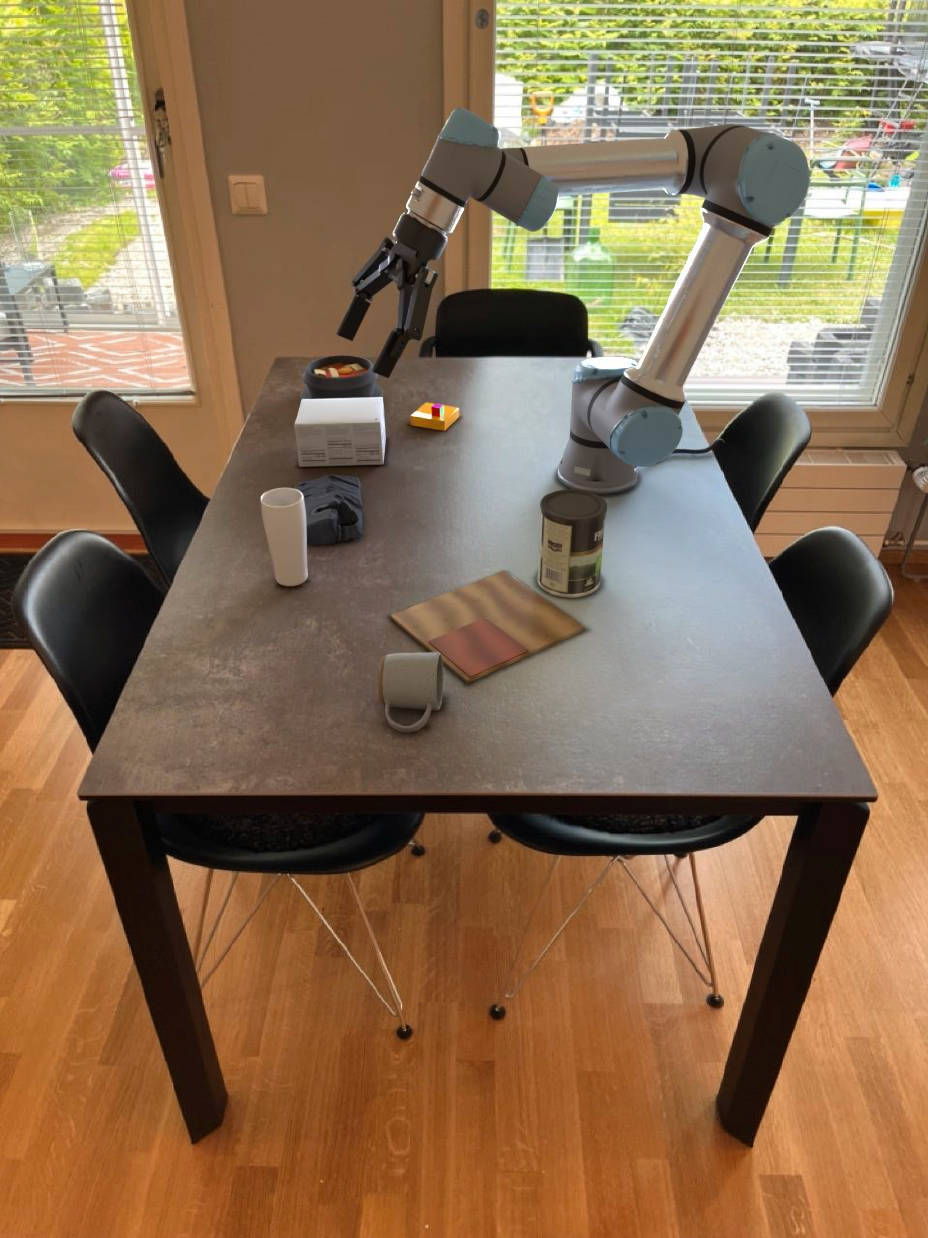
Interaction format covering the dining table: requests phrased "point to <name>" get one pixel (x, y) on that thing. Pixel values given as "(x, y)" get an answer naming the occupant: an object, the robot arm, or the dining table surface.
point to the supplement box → (340, 432)
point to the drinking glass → (286, 534)
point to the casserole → (340, 378)
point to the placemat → (486, 625)
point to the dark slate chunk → (332, 509)
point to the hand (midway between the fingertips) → (361, 355)
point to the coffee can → (571, 542)
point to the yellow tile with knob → (434, 416)
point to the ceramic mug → (411, 684)
